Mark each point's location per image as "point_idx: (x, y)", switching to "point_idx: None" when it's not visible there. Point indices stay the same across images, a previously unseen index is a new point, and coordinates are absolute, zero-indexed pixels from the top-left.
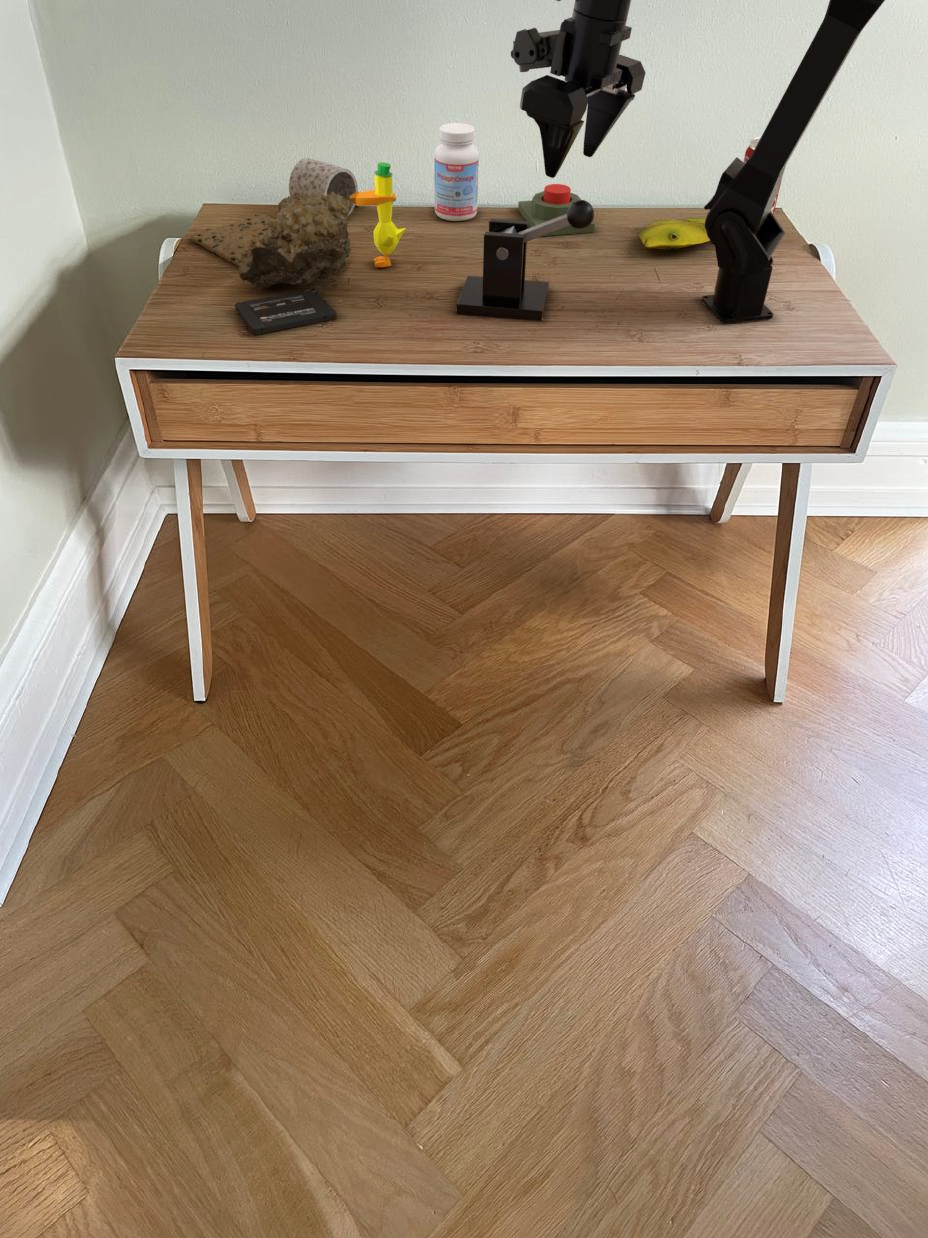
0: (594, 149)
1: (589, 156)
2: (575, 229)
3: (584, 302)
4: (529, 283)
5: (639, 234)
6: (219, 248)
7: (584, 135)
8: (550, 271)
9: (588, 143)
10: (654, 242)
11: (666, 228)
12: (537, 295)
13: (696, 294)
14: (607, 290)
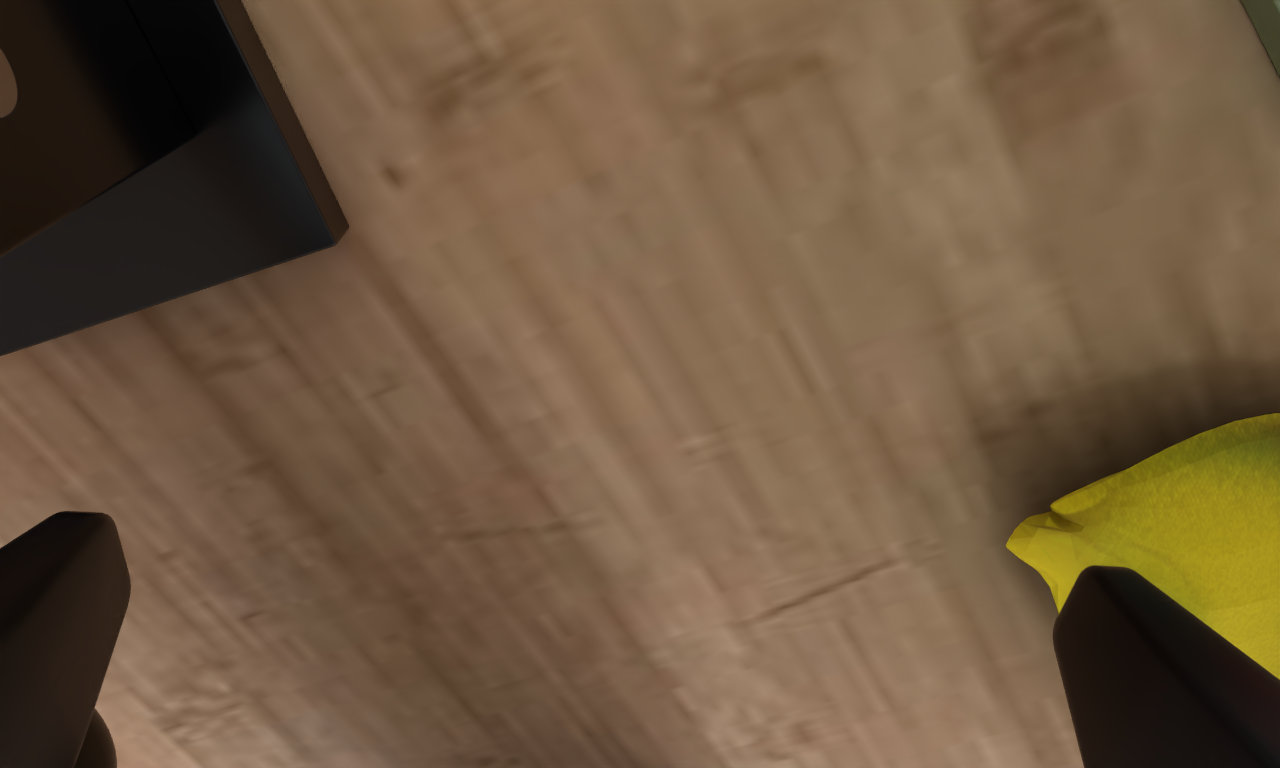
0: (1081, 734)
1: (1058, 625)
2: (1268, 28)
3: (350, 430)
4: (239, 153)
5: (1221, 426)
6: None
7: (1231, 718)
8: (610, 124)
9: (1130, 713)
10: (1051, 564)
11: (1201, 595)
12: (130, 262)
13: (698, 758)
14: (541, 471)
